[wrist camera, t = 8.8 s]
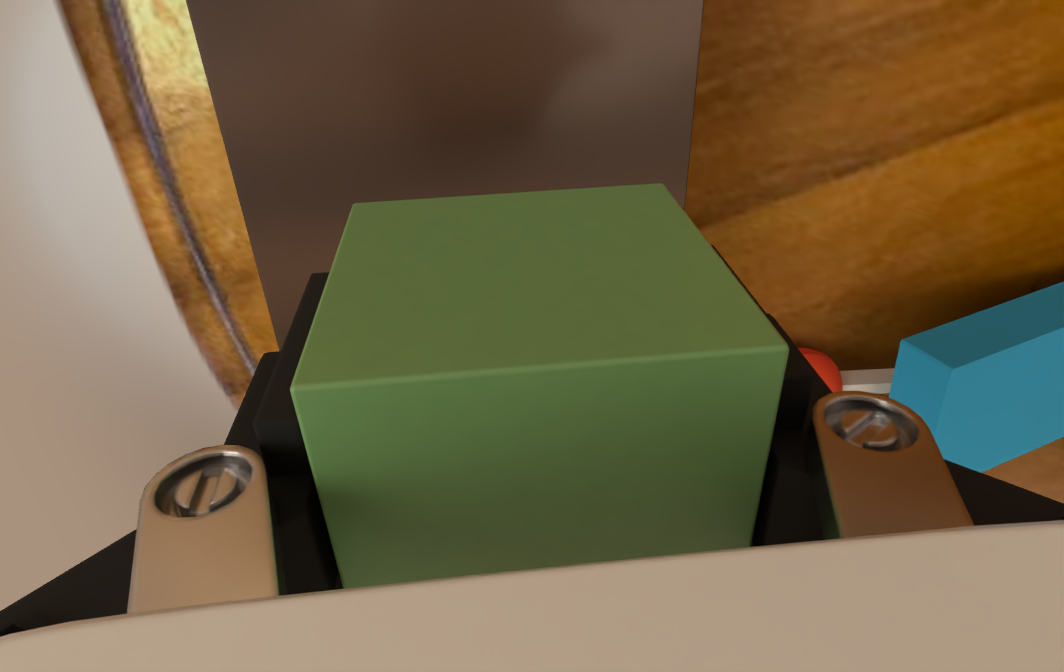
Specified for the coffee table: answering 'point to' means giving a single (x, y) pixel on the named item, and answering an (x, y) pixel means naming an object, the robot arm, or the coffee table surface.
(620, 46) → the block
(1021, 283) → the coffee table surface
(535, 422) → the green toy block
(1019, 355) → the lever
